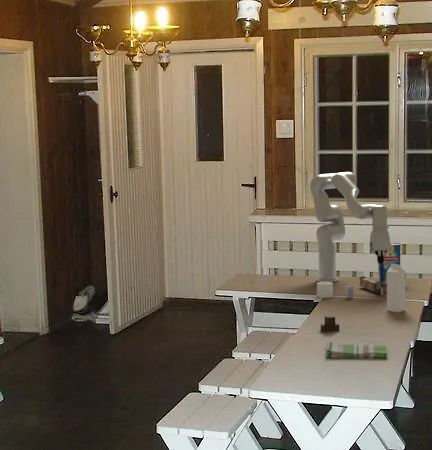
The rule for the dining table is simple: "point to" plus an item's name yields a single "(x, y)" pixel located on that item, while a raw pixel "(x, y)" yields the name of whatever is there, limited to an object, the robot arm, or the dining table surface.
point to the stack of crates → (329, 324)
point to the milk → (395, 288)
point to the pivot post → (378, 287)
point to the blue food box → (389, 261)
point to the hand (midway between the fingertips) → (380, 263)
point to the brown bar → (367, 283)
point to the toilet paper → (324, 289)
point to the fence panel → (385, 288)
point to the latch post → (349, 292)
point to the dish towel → (356, 351)
